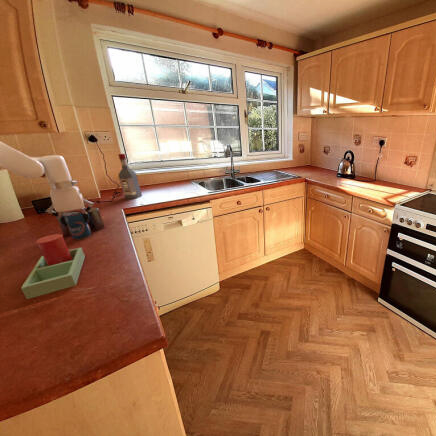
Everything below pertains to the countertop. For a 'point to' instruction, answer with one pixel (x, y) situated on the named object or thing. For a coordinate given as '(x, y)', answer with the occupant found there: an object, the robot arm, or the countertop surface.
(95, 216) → the grey tin right
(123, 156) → the liquor
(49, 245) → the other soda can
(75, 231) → the soda can
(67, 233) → the grey tin left
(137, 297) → the countertop surface
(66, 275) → the can rack
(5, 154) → the robot arm
